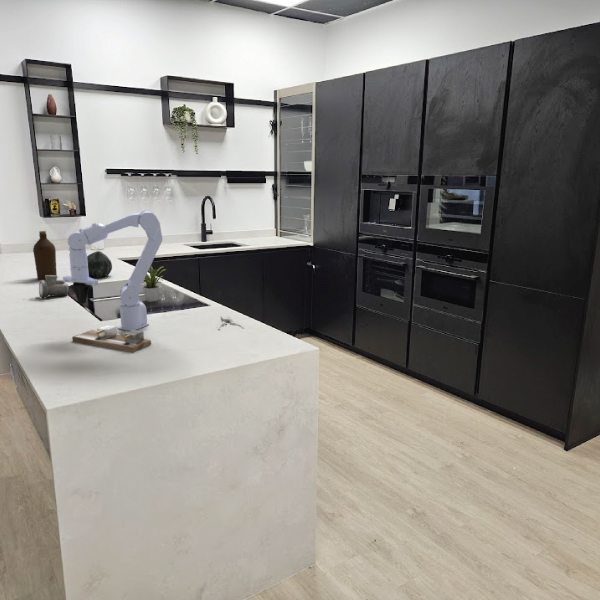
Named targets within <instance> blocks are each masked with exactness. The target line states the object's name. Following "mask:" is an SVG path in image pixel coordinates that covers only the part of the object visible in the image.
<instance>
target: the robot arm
mask: <svg viewBox="0 0 600 600" xmlns="http://www.w3.org/2000/svg"><path fill="white" fill-rule="evenodd" d="M139 225H140V227H141V228H142V229H143V230H144V231H145V234H146V237H147V241H146V243H145V245H144V248H143V250H142V252H141V253H140V256H139V259H138V260H137V262H136V264H135V266H134V269H133V270H132V273H131V275H130V277H129V278H128V280H127V282H126V283H125V285H123V286H122V287H121V289H120V290H119V294H120V301H121V302H120V303H119V312H120V314H119V315H120V325H117V326H115V327H116V330H117V329H118V330H125V331H128V332H130V331H133V330H137V331H138V330H139V329H142V328H143V327H147V326H149V325H150V323H149V322H148V315H147V312H148V311H147V307H146V305H145V304H144V302H142V301H140V300H139V299H140V297H139V296H140V295H139V294H140V291H141V289H142V285H143V284H144V281H143V280H145V279H144V278H145V276H146V274H148V272H149V268H150V269H151V266H152V263H153V261H154V259H155V257H156V255H157V253H158V251H159V248H160V246H161V245H162V242H163V235H162V227H161V222H160V221H159V219H158V217H157V216H156V215H155V213H154V212H153V211H151V210H143V211H141V212H134V213H131V214H128V215H126V216H124V217H121V218H119V219H117V220H113V221H111V222H109V223H107V224H102V223H100V222H99V223H96V222H94V223H91V226H89V227H86V228H79V229H78V231H73V232H72V233H70V234H69V236H68V238H67V245H68V246H69V249H68V251H69V264H70V265H69V266H70V275H66V276H62V280H63V282H65V283H72V284H70V289H71V290H72V291H73V292H74V295H75V297H76V300H77V302H78V304H79V305H84V304H86V303H87V298H88V294H89V291H90V289H91V287H97V286H99V280H98V279H95V278H92V277H90V276H89V273H88V261H87V256H88V253H87V247H86V246H87V245H89V246H90V245H92V244H95V243H98V242H100V241H103V240H105V239H107V238H108V235H109V234H111V233H113V232H116V231H120V230H122V229H125V228H128V227H134V228H140V227H139Z"/></svg>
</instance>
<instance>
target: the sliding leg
mask: <svg viewBox="0 0 600 600" xmlns="http://www.w3.org/2000/svg"><path fill="white" fill-rule="evenodd" d="M116 327H117V326H114V325H104V326H101V327H98V328H97V329H96V331H97V332H96V334H97V338H99V337H100V338H106V339H107V338H110V337H112V336H115V335H116V334H117V328H116Z"/></svg>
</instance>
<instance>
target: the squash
mask: <svg viewBox="0 0 600 600" xmlns="http://www.w3.org/2000/svg"><path fill="white" fill-rule="evenodd" d="M87 261H88V273H89V277H97V278H106V276H109V275H110V273H111V272H112V269H113V264H112V263H113V262H112V261H111V259H110V258H109V257H108V256H107V255H106V254H105V253H103V252H102V251H100V250H99V251H98V250H96V251H94V252H92V253H90V254H87Z"/></svg>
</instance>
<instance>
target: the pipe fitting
mask: <svg viewBox="0 0 600 600" xmlns="http://www.w3.org/2000/svg"><path fill="white" fill-rule="evenodd" d="M45 278H46V280H40V281H39V284H38V293H39V298H41V299H46V298H48V297H49V296H67V295H69V290H70V289H69V284H68V282H63V279H58V275H57V276H55V275H45Z"/></svg>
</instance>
